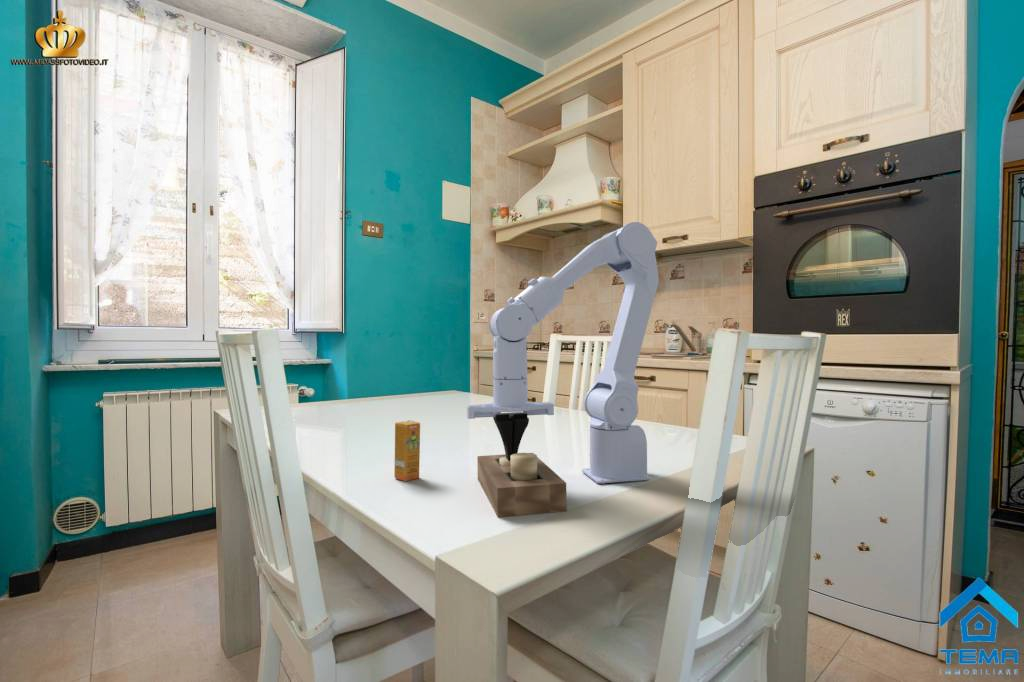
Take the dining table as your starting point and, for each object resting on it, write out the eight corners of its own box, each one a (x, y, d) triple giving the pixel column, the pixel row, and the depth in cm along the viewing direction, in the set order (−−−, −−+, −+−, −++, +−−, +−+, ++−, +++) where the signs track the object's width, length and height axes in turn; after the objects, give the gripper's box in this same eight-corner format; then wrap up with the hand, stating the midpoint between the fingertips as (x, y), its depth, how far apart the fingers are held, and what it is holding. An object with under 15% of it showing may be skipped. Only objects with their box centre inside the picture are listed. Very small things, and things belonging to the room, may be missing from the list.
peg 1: (520, 478, 86) (520, 455, 86) (526, 484, 82) (525, 461, 82) (497, 479, 85) (497, 456, 85) (502, 486, 82) (501, 462, 82)
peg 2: (533, 477, 78) (533, 452, 77) (540, 484, 74) (540, 458, 74) (508, 479, 77) (508, 453, 77) (513, 486, 73) (513, 460, 73)
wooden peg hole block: (532, 474, 90) (532, 452, 90) (566, 510, 71) (566, 482, 71) (477, 478, 88) (477, 456, 88) (497, 517, 69) (497, 488, 69)
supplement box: (406, 482, 86) (405, 424, 86) (393, 478, 89) (393, 422, 88) (421, 477, 89) (420, 421, 89) (409, 474, 91) (408, 419, 91)
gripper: (470, 381, 78) (471, 468, 78) (559, 379, 81) (559, 462, 82) (464, 378, 85) (465, 457, 85) (546, 375, 88) (547, 452, 88)
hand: (511, 459), depth 84 cm, fingers closed, pressing on peg 1
